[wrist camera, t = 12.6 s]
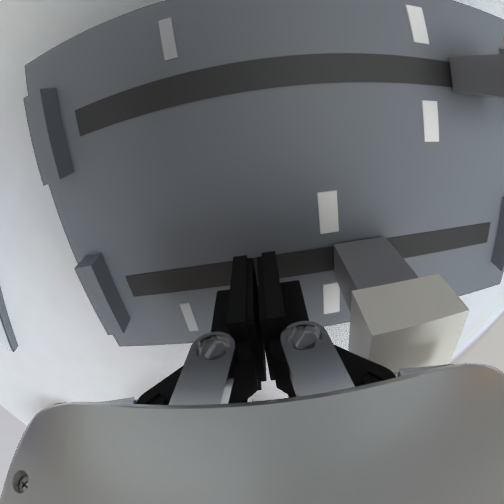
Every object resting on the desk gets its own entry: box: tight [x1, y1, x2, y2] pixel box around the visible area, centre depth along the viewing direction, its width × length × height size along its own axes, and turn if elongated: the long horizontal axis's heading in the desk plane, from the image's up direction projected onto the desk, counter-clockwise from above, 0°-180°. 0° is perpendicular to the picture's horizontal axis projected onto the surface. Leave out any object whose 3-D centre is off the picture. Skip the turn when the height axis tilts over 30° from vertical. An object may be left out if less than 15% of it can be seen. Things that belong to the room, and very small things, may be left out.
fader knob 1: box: [334, 237, 469, 372], centre depth 10 cm, size 3×3×6 cm
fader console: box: [24, 0, 504, 346], centre depth 11 cm, size 16×24×3 cm, turn 99°
